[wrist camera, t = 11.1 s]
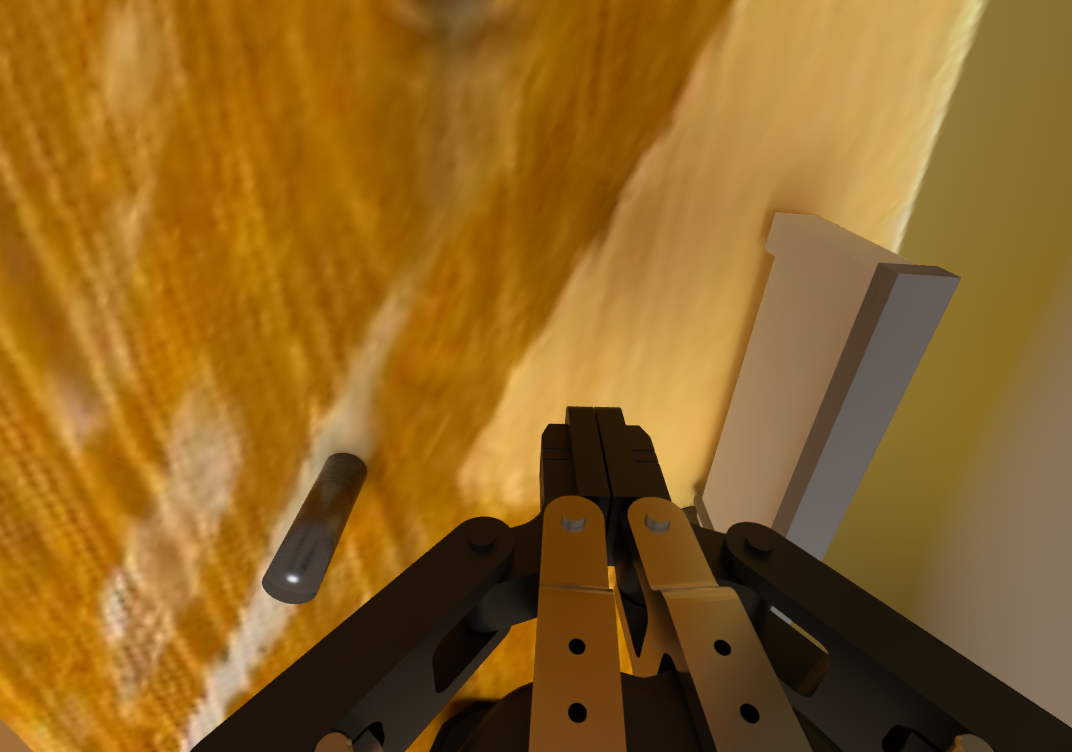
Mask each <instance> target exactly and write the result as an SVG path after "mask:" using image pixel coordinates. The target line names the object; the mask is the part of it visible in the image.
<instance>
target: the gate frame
mask: <svg viewBox="0 0 1072 752" xmlns="http://www.w3.org/2000/svg"><path fill="white" fill-rule="evenodd" d="M366 476H367V469H366V466H365V464H364V463H363V462H362V461H361V460H360V459H359V458H357V457H355V456H353V455H350V454H345V453H340V454H335V455H333V456H331V457H329V458H328V460H327V461H326V463H325V465H324V466H323V468H322V470H321V472H320V474H319V476H318V478H317V479H316V481H315V483H314V485H313V487H312V489H311V490H310V492H309V494H308V496H307V498H306V500H305V502H304V503H303V505H302V507H301V509H300V511H299V513H298V514H297V516H296V518H295V520H294V522H293V524H292V525H291V527H290V529H289V531H288V533H287V535H286V537H285V538H284V540H283V542H282V544H281V546H280V548H279V549H278V551H277V553H276V555H275V557H274V559H273V560H272V562H271V564H270V566H269V568H268V570H267V572H266V573H265V575H264V577H263V580H262V585H263V588H264V589H265V591H266V592H267V593H268V594H269V595H270V596H271V597H273V598H275V599H277V600H279V601H281V602H285V603H289V604H302V603H306V602H309V601H311V600H312V599H314V597H315V596H316V594H317V592H318V590H319V587H320V585H321V583H322V580H323V578H324V575H325V573H326V571H327V568H328V566H329V564H330V561H331V559H332V556H333V554H334V552H335V549H336V547H337V545H338V542H339V540H340V538H341V535H342V533H343V530H344V528H345V526H346V523H347V521H348V519H349V516H350V514H351V511H352V509H353V507H354V504H355V502H356V500H357V497H358V495H359V493H360V490H361V488H362V485H363V483H364V481H365V478H366ZM682 511H683V512H684V513H685V515H686V517H687V519H688V521H689V522H691V523H693V524H695V525H697V526H700V523H699V520H698V518H697V510H696V507H695V506H693V507H687V508H684V509H682ZM700 527H701V526H700Z"/></svg>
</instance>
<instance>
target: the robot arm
mask: <svg viewBox="0 0 1072 752" xmlns="http://www.w3.org/2000/svg"><path fill="white" fill-rule="evenodd" d="M539 478H540V511H541V512H540V513H539V515H538V516H537V517H536V518H534V519H533V520H531V521H530V522H528V523H526V524H523V525H520V526H516V527H512V528H510V527H509V526H508V525H507V524H506V523H504V522H503V521H501V520H499V519H496V518H492V517H476V518H472V519H469V520H467V521H465V522H463V523H462V524H460V525H459V526H458V527H456V528H455V529H454V530H453V531H452V532H450V533H449V534H448V535H447V536H446V537H444V538H443V539H442V540H441V541H440V542H438V543H437V544H436V545H435V546H434V547H432V548H431V549H430V550H429V551H428V552H426V553H425V554H424V555H423V556H422V557H420V558H419V559H418V560H417V561H416V562H414V563H413V564H412V565H411V566H410V567H408V568H407V569H406V570H405V571H404V572H402V573H401V574H400V575H399V576H398V577H396V578H395V579H394V580H393V581H392V582H390V583H389V584H388V585H387V586H386V587H384V588H383V589H382V590H381V591H380V592H378V593H377V594H376V595H375V596H374V597H372V598H371V599H370V600H369V601H368V602H367V603H365V604H364V605H363V606H362V607H361V608H359V609H358V610H357V611H356V612H355V613H353V614H352V615H351V616H350V617H349V618H347V619H346V620H345V621H344V622H343V623H341V624H340V625H339V626H338V627H337V628H335V629H334V630H333V631H332V632H331V633H329V634H328V635H327V636H326V637H325V638H323V639H322V640H321V641H320V642H319V643H317V644H316V645H315V646H314V647H313V648H311V649H310V650H309V651H308V652H307V653H305V654H304V655H303V656H302V657H301V658H299V659H298V660H297V661H296V662H295V663H293V664H292V665H291V666H290V667H289V668H287V669H286V670H285V671H284V672H283V673H281V674H280V675H279V676H278V677H277V678H275V679H274V680H273V681H272V682H271V683H269V684H268V685H267V686H266V687H265V688H263V689H262V690H261V691H260V692H259V693H257V694H256V695H255V696H254V697H253V698H251V699H250V700H249V701H248V702H247V703H245V704H244V705H243V706H242V707H241V708H239V709H238V710H237V711H236V712H235V713H233V714H232V715H231V716H230V717H229V718H227V719H226V720H225V721H224V722H223V723H221V724H220V725H219V726H218V727H217V728H215V729H214V730H213V731H212V732H211V733H209V734H208V735H207V736H206V737H205V738H203V739H202V740H201V741H200V742H199V743H198V744H197V745H196V746H195V747H194V748H193V749H192V750H191V751H190V752H405V751H406V750H407V749H408V748H409V746H410V745H411V744H412V743H413V742H414V741H415V740H416V738H417V737H418V736H419V735H420V734H421V733H422V732H423V730H424V729H425V728H426V727H427V726H428V725H429V723H430V722H431V721H432V720H433V719H434V718H435V717H436V715H437V714H438V713H439V712H440V711H441V710H442V709H443V707H444V706H445V705H446V704H447V703H448V702H449V701H450V699H451V698H452V697H453V696H454V695H455V694H456V693H457V691H458V690H459V689H460V688H461V687H462V686H463V685H464V683H465V682H466V681H467V680H468V679H469V678H470V677H471V675H472V674H473V673H474V672H475V671H476V670H477V669H478V667H479V666H480V665H481V664H482V663H483V662H484V661H485V659H486V658H487V657H488V656H489V655H490V654H491V653H492V651H493V650H494V649H495V648H496V647H497V646H498V645H499V643H500V642H501V641H502V640H503V639H504V638H505V637H506V635H507V634H508V633H509V631H510V629H511V626H512V625H516V624H519V623H522V622H525V621H528V620H531V619H534V618H537V630H536V645H535V661H534V677H533V682H530V683H528V684H526V685H523V686H521V687H519V688H517V689H515V690H514V691H512V692H510V693H509V694H507V695H506V696H505V697H504V698H502V699H501V700H500V701H498V702H497V703H496V704H495V705H494V706H493V707H492V708H491V709H490V711H489V712H488V713H487V714H486V715H485V716H484V717H483V719H482V720H481V721H480V723H479V724H478V725H477V727H476V728H475V729H474V731H473V732H472V733H471V735H470V736H469V737H468V739H467V740H466V741H465V743H464V744H463V745H462V747H461V748H460V750H459V751H458V752H1072V728H1071V727H1069V726H1068V725H1067V724H1065V723H1064V722H1062V721H1061V720H1059V719H1058V718H1056V717H1055V716H1053V715H1052V714H1050V713H1049V712H1047V711H1045V710H1044V709H1043V708H1041V707H1040V706H1038V705H1037V704H1035V703H1034V702H1032V701H1030V700H1029V699H1027V698H1026V697H1024V696H1023V695H1021V694H1020V693H1018V692H1017V691H1015V690H1014V689H1012V688H1011V687H1009V686H1008V685H1006V684H1005V683H1003V682H1002V681H1000V680H999V679H997V678H996V677H994V676H993V675H991V674H989V673H988V672H987V671H985V670H984V669H982V668H981V667H979V666H978V665H976V664H975V663H973V662H972V661H970V660H969V659H967V658H966V657H964V656H963V655H961V654H959V653H958V652H957V651H955V650H954V649H952V648H951V647H949V646H948V645H946V644H944V643H943V642H942V641H940V640H938V639H937V638H936V637H934V636H933V635H931V634H929V633H928V632H927V631H925V630H923V629H922V628H920V627H919V626H917V625H916V624H914V623H913V622H911V621H910V620H908V619H907V618H905V617H904V616H902V615H901V614H899V613H898V612H896V611H895V610H893V609H892V608H890V607H889V606H887V605H886V604H884V603H883V602H881V601H880V600H878V599H877V598H875V597H874V596H872V595H871V594H869V593H868V592H866V591H865V590H863V589H862V588H860V587H859V586H857V585H856V584H854V583H853V582H851V581H850V580H848V579H847V578H845V577H844V576H842V575H841V574H839V573H838V572H836V571H835V570H833V569H832V568H830V567H828V566H827V565H826V564H824V563H822V562H821V561H820V560H818V559H817V558H815V557H813V556H812V555H810V554H809V553H807V552H806V551H804V550H803V549H801V548H800V547H798V546H797V545H795V544H794V543H792V542H791V541H789V540H788V539H786V538H785V537H783V536H782V535H780V534H779V533H777V532H776V531H774V530H773V529H771V528H769V527H767V526H765V525H762V524H759V523H754V522H739V523H736V524H734V525H732V526H731V527H730V528H729V529H728V530H727V532H726V534H725V533H721V532H718V531H714V530H710V529H706V528H703V527H700V526H697V525H695V524H693V523H691V522H689V521H688V519H687V517H686V515H685V513H684V512H683V511H682V509H680V508H679V507H678V506H677V505H675V504H674V503H672V501H671V498H670V495H669V492H668V489H667V486H666V483H665V480H664V477H663V474H662V471H661V468H660V465H659V464H658V459H657V456H656V453H655V450H654V447H653V444H652V441H651V438H650V436H649V435H648V434H647V433H646V432H645V431H644V430H643V429H642V428H641V427H640V426H635V425H626V424H625V421H624V417H623V413H622V410H621V408H620V407H594V409H593V407H573V406H567V408H566V418H565V424H548V426H547V427H546V429H545V431H544V432H543V434H542V438H541V457H540V475H539ZM607 566H614V567H615V573H616V581H615V587H614V593H613V590H612V589H609V582H608V568H607ZM614 596H615V599H614ZM615 600H616V605H617V609H618V613H619V617H620V621H621V625H622V629H623V633H624V637H625V641H626V645H627V649H628V653H629V657H630V661H631V665H632V671H633V675H630V674H626V673H623V672H620V661H619V649H618V636H617V623H616V611H615ZM772 606H773V607H775V608H776V609H777V610H778V611H780V612H781V613H782V614H784V615H785V616H786V617H788V618H789V619H790V620H791V621H793V622H794V623H796V624H797V625H798V626H799V627H801V628H802V629H803V630H805V631H806V632H807V633H809V634H810V635H811V636H813V637H814V638H815V639H816V640H818V641H819V642H820V643H821V644H822V645H823V646H824V647H825V648H826V650H827V651H828V653H829V654H827V653H825V652H824V651H822V650H821V649H820V648H819V647H817V646H816V645H815V644H813V643H812V642H811V641H810V640H808V639H807V638H806V637H804V636H803V635H802V634H801V633H799V632H798V631H796V630H795V629H794V628H793V627H792V626H790V625H789V624H788V623H786V622H785V621H784V620H783V619H781V618H780V617H779V616H777V615H776V614H775V613H774V612H772V611H771V608H772Z"/></svg>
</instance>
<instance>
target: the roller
mask: <svg viewBox="0 0 1072 752" xmlns="http://www.w3.org/2000/svg"><path fill="white" fill-rule="evenodd" d="M495 704H496V703H493V702H479V701H477V702H476V703H474V704H472V705H471V706H469V707H468V708H466V709H465V710H463V711H462V712H460V713H458V714H457V715H455V716H454V717H452V718H451V719H449V720H448V721H446V722H444V723H443V724H442V726H441V728H440V730H439V732H438V734H437V736H436V739H435V741H434V743H433V745H432V747H431V750H430V752H458V751H459V750H460V748H461V747H462V745H463V744H464V743H465V741H466V740H467V739H468V737H469V736H470V735H471V733H472V732H473V731H474V729H475V728H476V727H477V725H478V724H479V723H480V721H481V720H482V719H483V717H484V716H485V715H486V714H487V713H488V712H489V711H490V709H491V708H492V707H493V706H494V705H495Z"/></svg>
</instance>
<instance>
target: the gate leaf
mask: <svg viewBox="0 0 1072 752" xmlns="http://www.w3.org/2000/svg"><path fill="white" fill-rule="evenodd" d="M765 250H766V251H767V252H769V253H770V254H771V255H773V256H774V257H775V258H774V261H773V264H772V268H771V271H770V274H769V278H768V281H767V284H766V287H765V291H764V294H763V297H762V301H761V304H760V307H759V311H758V314H757V317H756V321H755V324H754V327H753V331H752V334H751V337H750V341H749V344H748V347H747V350H746V354H745V357H744V360H743V364H742V367H741V370H740V374H739V377H738V380H737V384H736V387H735V390H734V394H733V397H732V400H731V404H730V407H729V410H728V413H727V417H726V420H725V423H724V427H723V430H722V433H721V437H720V440H719V443H718V447H717V450H716V453H715V457H714V460H713V463H712V467H711V470H710V473H709V476H708V480H707V483H706V486H705V490H703V491H701V492H699V493H698V494H697V495H696V496H695V498H694V505H695V507H696V510H697V518H698V520H699V523H700V526H701V527H703V528H706V529H710V530H714V531H718V532H721V533H725V534H726V532H727V530H728V529H729V528H730V527H731V526H732V525H734V524H736V523H739V522H754V523H759V524H762V525H765V526H767V527H769V528H771V529H773V530H774V531H776V532H777V533H779V534H780V535H782V536H783V537H785V538H786V539H788V540H789V541H791V542H792V543H794V544H795V545H797V546H798V547H800V548H801V549H803V550H804V551H806V552H807V553H809V554H810V555H812V556H813V557H815V558H817V559H818V560H820V561H822V559H823V557H824V555H825V553H826V551H827V549H828V547H829V545H830V543H831V541H832V539H833V536H834V535H835V533H836V531H837V529H838V527H839V525H840V522H841V521H842V518H843V516H844V514H845V512H846V510H847V508H848V506H849V504H850V502H851V500H852V498H853V496H854V494H855V492H856V490H857V488H858V486H859V484H860V482H861V480H862V478H863V476H864V474H865V471H866V470H867V468H868V466H869V464H870V462H871V460H872V458H873V456H874V454H875V452H876V449H877V448H878V446H879V444H880V442H881V439H882V437H883V435H884V433H885V431H886V429H887V427H888V425H889V423H890V421H891V419H892V417H893V415H894V413H895V411H896V409H897V407H898V405H899V403H900V401H901V399H902V397H903V395H904V393H905V391H906V388H907V387H908V385H909V383H910V380H911V379H912V376H913V375H914V373H915V371H916V369H917V367H918V365H919V362H920V360H921V358H922V356H923V354H924V352H925V350H926V348H927V346H928V344H929V342H930V339H931V338H932V336H933V334H934V332H935V330H936V328H937V326H938V324H939V322H940V320H941V318H942V316H943V314H944V312H945V310H946V308H947V306H948V304H949V301H950V300H951V298H952V295H953V294H954V291H955V290H956V287H957V285H958V283H959V281H960V279H961V277H959V276H957V275H955V274H953V273H950V272H948V271H946V270H944V269H942V268H940V267H937V266H924V265H917V264H915V263H913V262H911V261H909V260H907V259H905V258H903V257H901V256H899V255H897V254H895V253H893V252H891V251H889V250H887V249H885V248H883V247H881V246H879V245H877V244H875V243H873V242H871V241H869V240H867V239H865V238H863V237H861V236H859V235H856V234H854V233H852V232H850V231H848V230H846V229H844V228H842V227H840V226H838V225H836V224H834V223H832V222H830V221H828V220H826V219H824V218H822V217H820V216H818V215H809V214H794V213H780V212H775V215H774V218H773V222H772V225H771V229H770V232H769V236H768V239H767V243H766V246H765ZM771 611H772V612H774V613H775V614H776V615H777V616H779V617H780V618H781V619H783V620H784V621H785V622H786V623H788V624H789V625H790V624H791V622H792V621H791V620H790V619H789V618H788V617H786V616H785V615H784V614H782V613H781V612H780V611H778V610H777V609H776V608H775V607H773V606H772V608H771Z"/></svg>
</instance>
